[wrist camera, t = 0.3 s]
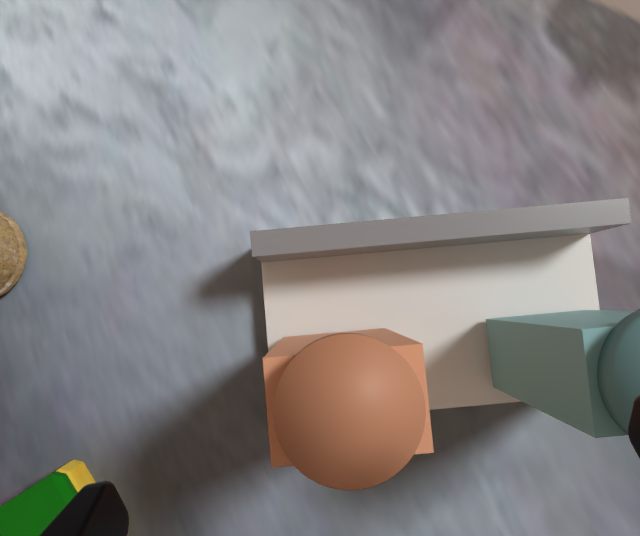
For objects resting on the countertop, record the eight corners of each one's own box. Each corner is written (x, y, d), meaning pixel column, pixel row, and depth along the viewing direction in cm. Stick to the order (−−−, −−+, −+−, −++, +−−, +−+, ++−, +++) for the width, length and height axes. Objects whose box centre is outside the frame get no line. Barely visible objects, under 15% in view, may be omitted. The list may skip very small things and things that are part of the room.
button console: (599, 390, 23) (656, 408, 19) (275, 419, 23) (267, 443, 19) (577, 214, 23) (628, 198, 19) (261, 242, 23) (250, 231, 19)
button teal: (596, 389, 22) (786, 450, 13) (494, 398, 22) (614, 465, 13) (584, 298, 22) (763, 296, 13) (484, 307, 22) (596, 312, 13)
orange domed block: (392, 407, 22) (442, 481, 13) (290, 417, 21) (269, 497, 13) (383, 316, 22) (426, 326, 13) (282, 325, 22) (257, 342, 13)
